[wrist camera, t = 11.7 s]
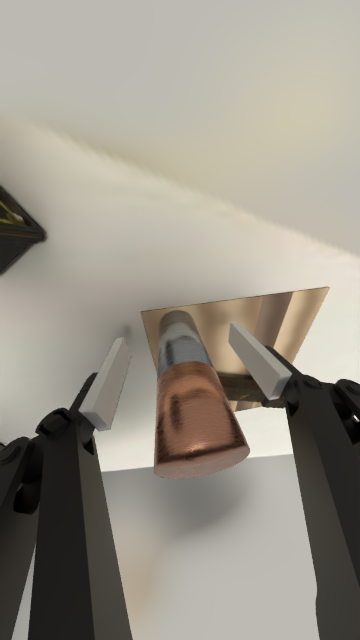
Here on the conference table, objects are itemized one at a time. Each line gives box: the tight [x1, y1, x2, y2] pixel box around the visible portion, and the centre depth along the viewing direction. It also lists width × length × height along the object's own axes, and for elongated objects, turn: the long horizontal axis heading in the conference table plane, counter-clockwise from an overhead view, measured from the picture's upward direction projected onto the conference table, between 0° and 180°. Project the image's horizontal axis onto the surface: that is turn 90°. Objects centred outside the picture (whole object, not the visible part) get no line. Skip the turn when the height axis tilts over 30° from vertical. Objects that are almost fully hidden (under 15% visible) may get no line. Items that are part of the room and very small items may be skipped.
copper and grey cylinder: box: [154, 310, 250, 479], centre depth 11 cm, size 4×4×12 cm
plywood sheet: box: [141, 287, 330, 412], centre depth 22 cm, size 24×28×1 cm
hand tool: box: [218, 376, 285, 408], centre depth 21 cm, size 19×4×5 cm, turn 72°
